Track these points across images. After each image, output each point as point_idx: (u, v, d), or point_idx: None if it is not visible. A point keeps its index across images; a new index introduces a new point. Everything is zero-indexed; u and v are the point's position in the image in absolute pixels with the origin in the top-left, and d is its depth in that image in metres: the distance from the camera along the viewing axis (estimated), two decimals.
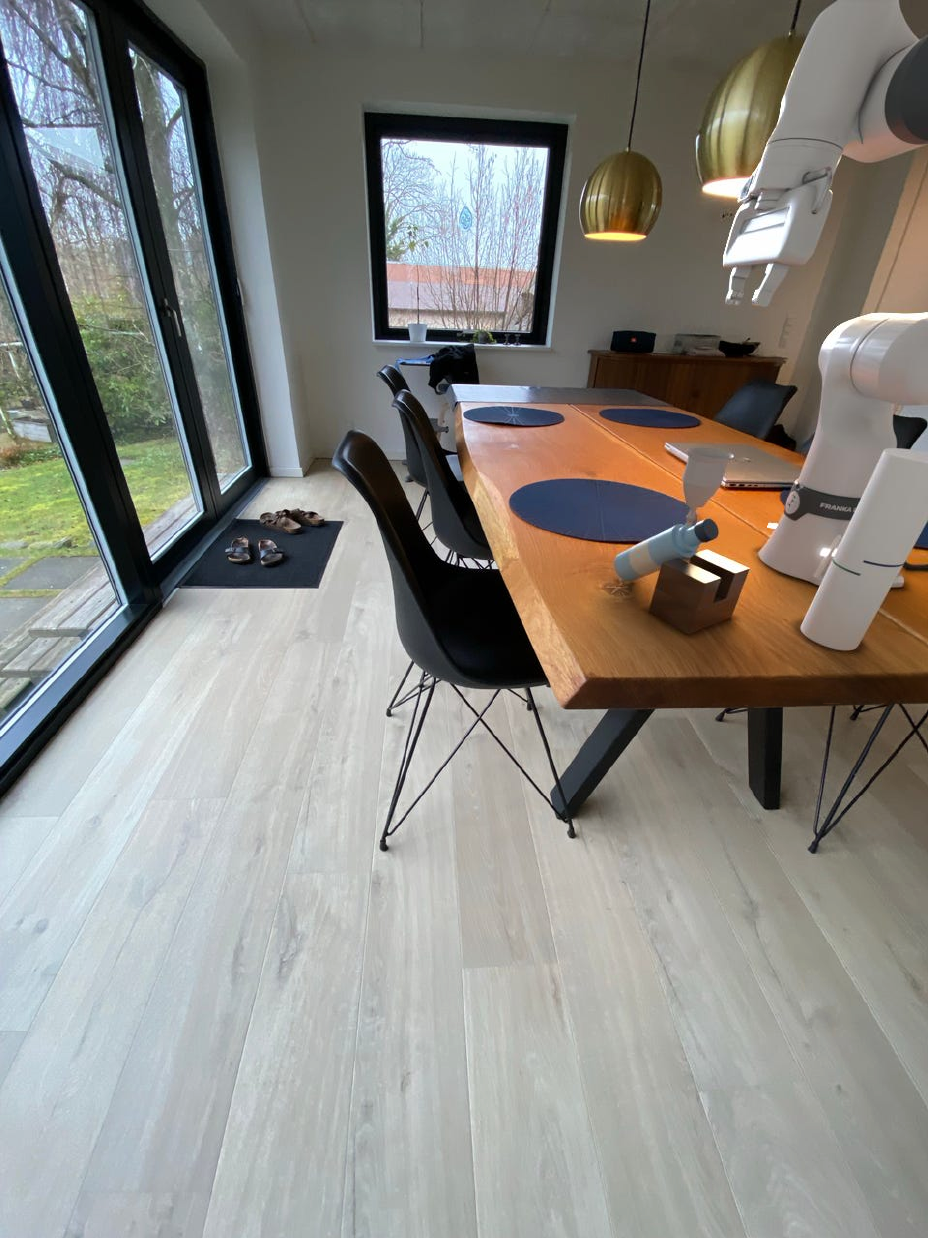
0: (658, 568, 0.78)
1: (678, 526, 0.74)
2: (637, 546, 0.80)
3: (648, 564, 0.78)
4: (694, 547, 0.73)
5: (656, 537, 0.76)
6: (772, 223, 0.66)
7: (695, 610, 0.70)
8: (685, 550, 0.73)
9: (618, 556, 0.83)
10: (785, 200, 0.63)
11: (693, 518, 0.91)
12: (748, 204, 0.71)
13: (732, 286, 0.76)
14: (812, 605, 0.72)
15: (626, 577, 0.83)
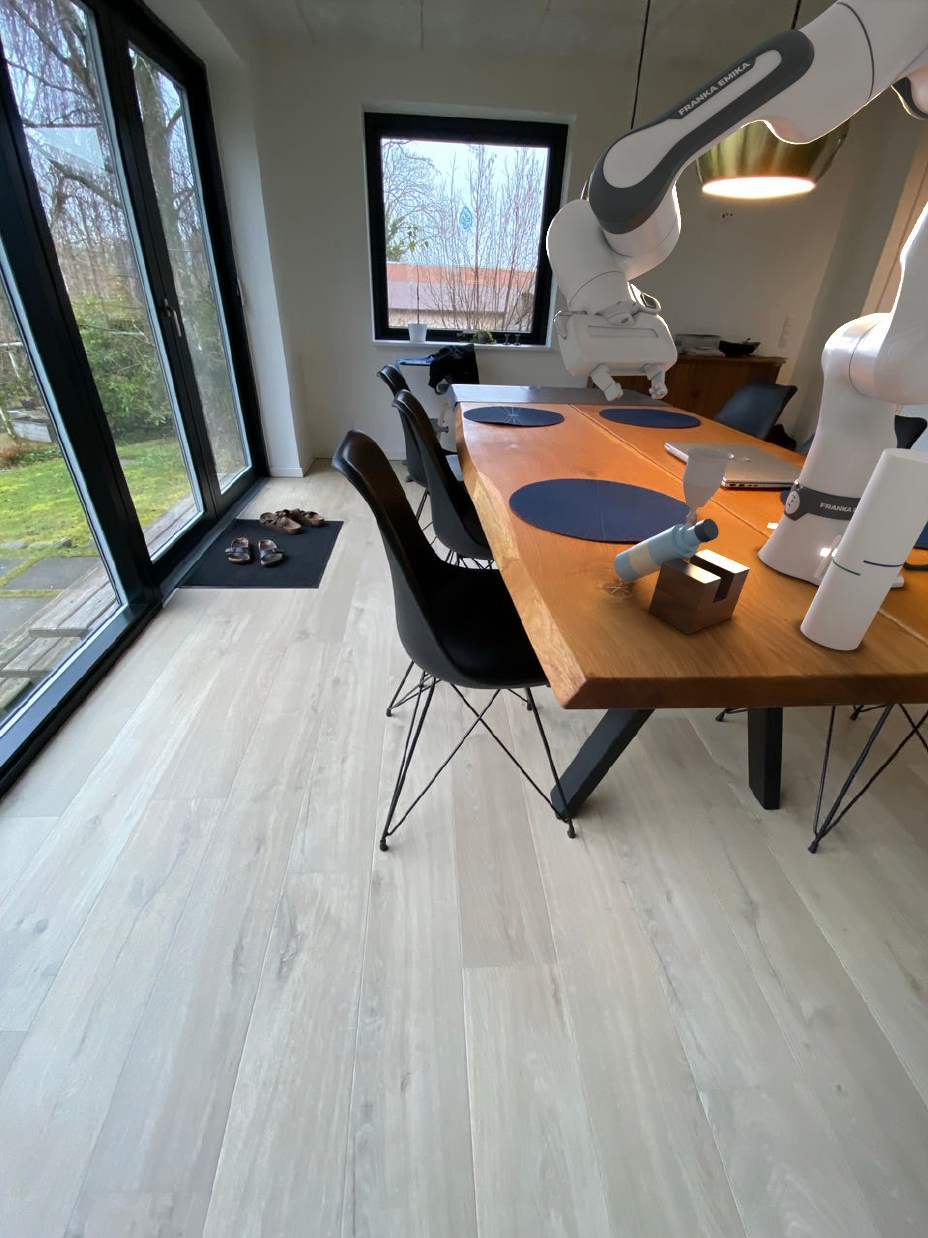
0: (658, 568, 0.78)
1: (678, 526, 0.74)
2: (637, 546, 0.80)
3: (648, 564, 0.78)
4: (694, 547, 0.73)
5: (656, 537, 0.76)
6: None
7: (695, 610, 0.70)
8: (685, 550, 0.73)
9: (618, 556, 0.83)
10: None
11: (693, 518, 0.91)
12: None
13: (652, 386, 0.78)
14: (812, 605, 0.72)
15: (626, 577, 0.83)
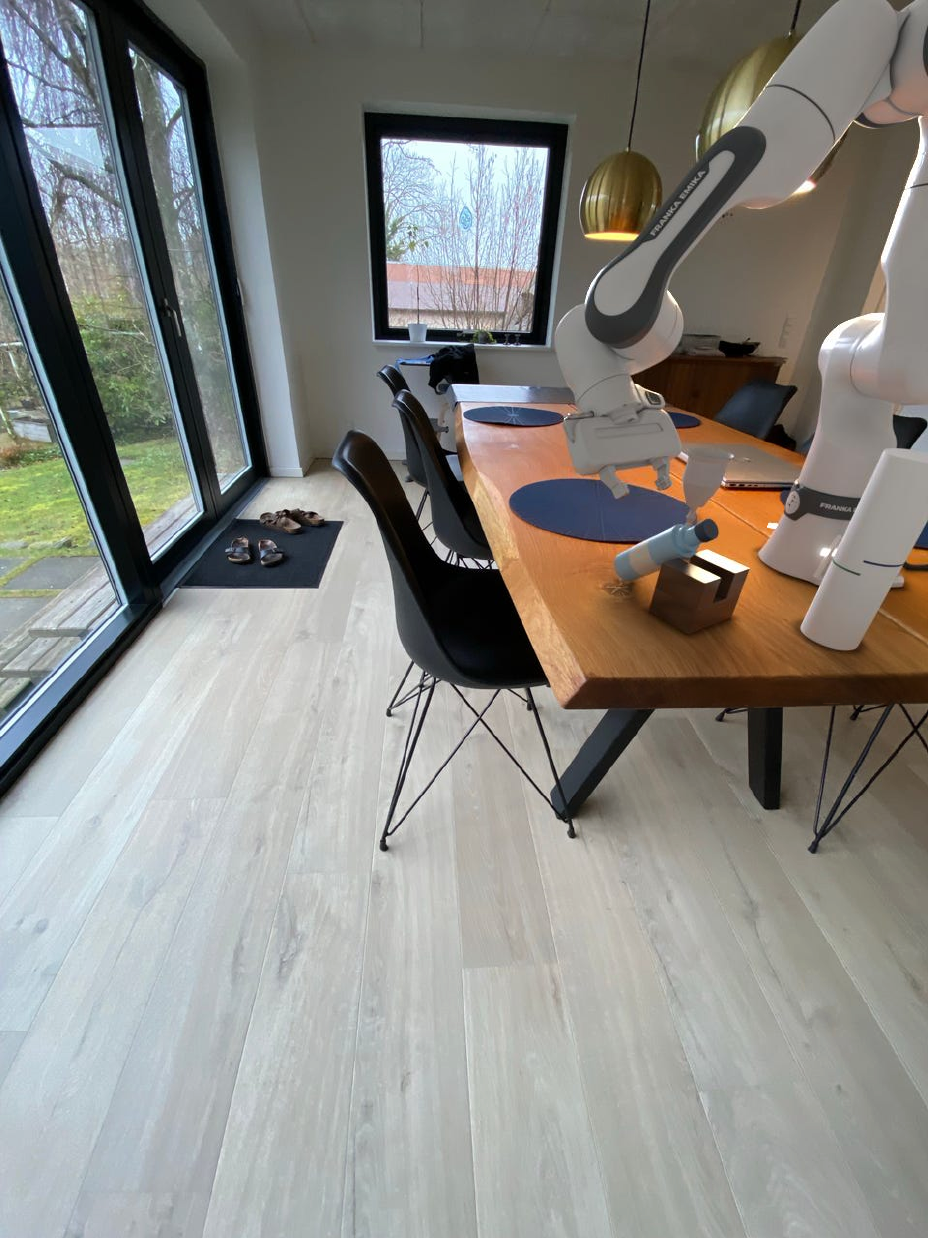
0: (658, 568, 0.78)
1: (678, 526, 0.74)
2: (637, 546, 0.80)
3: (648, 564, 0.78)
4: (694, 547, 0.73)
5: (656, 537, 0.76)
6: None
7: (695, 610, 0.70)
8: (685, 550, 0.73)
9: (618, 556, 0.83)
10: None
11: (693, 518, 0.91)
12: None
13: (658, 477, 0.81)
14: (812, 605, 0.72)
15: (626, 577, 0.83)
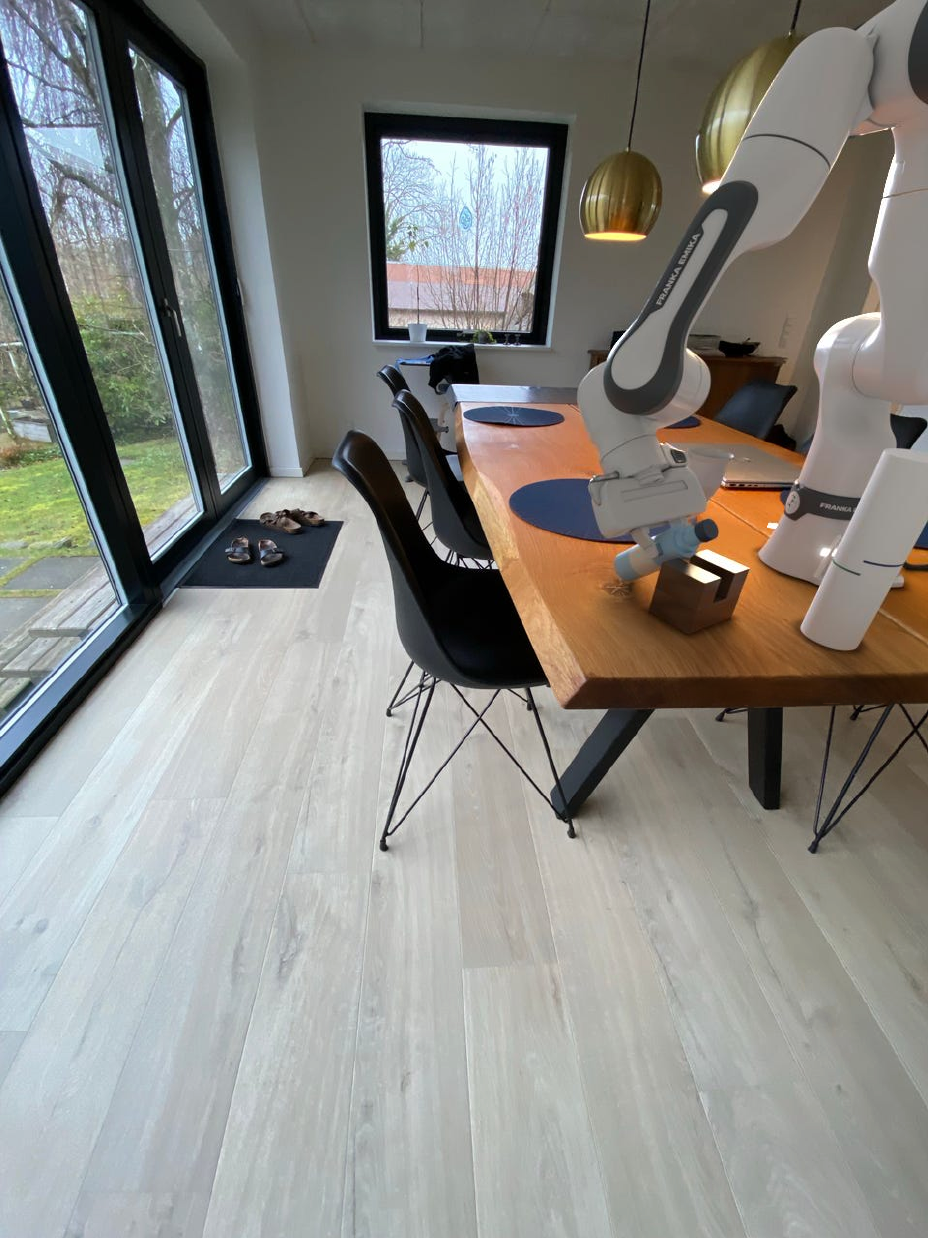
0: (658, 568, 0.78)
1: (678, 526, 0.74)
2: (637, 546, 0.80)
3: (647, 564, 0.78)
4: (694, 547, 0.73)
5: (656, 537, 0.76)
6: None
7: (695, 610, 0.70)
8: (685, 550, 0.73)
9: (618, 556, 0.83)
10: None
11: (693, 518, 0.91)
12: None
13: None
14: (812, 605, 0.72)
15: (626, 577, 0.83)
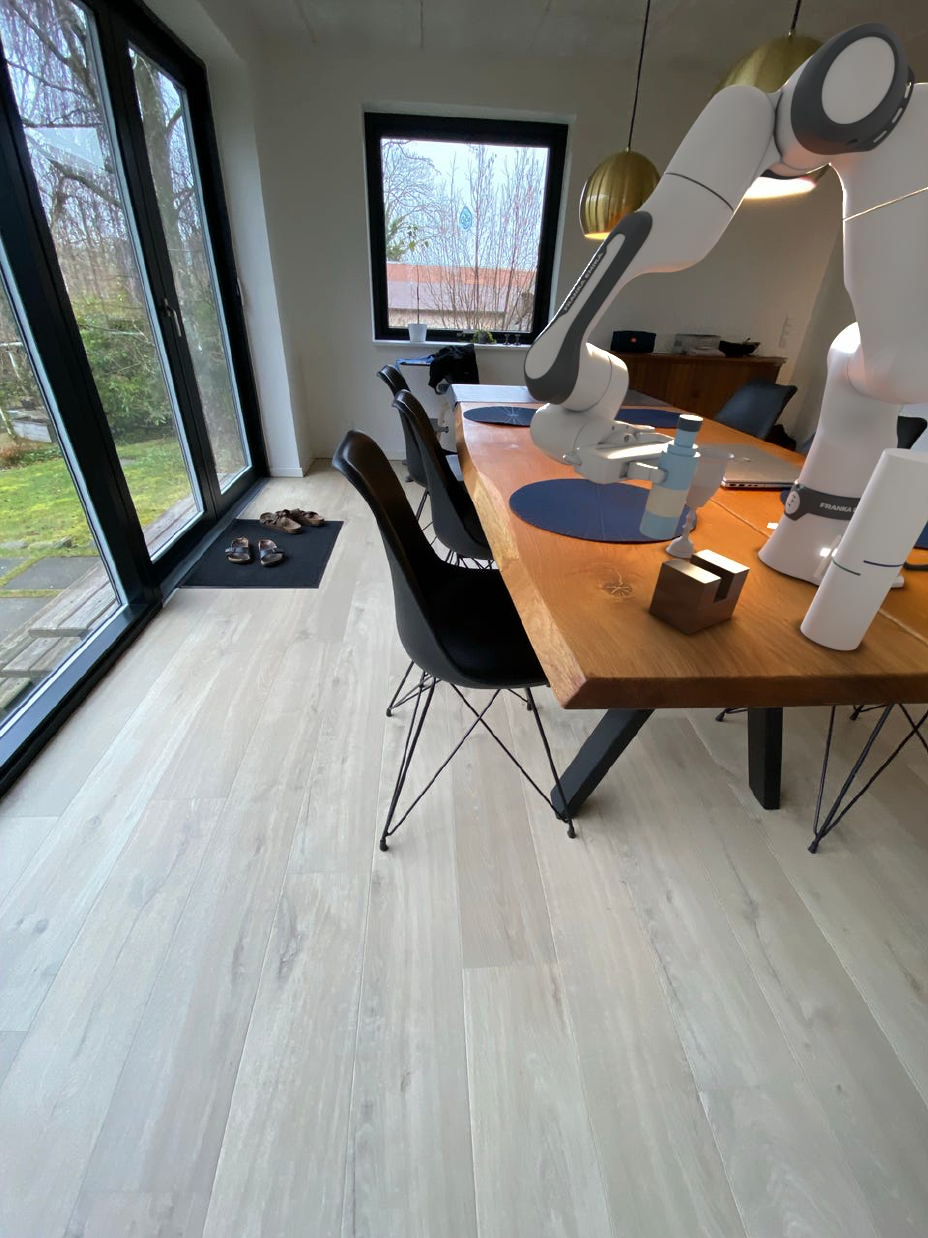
0: (678, 494, 0.72)
1: (667, 447, 0.72)
2: (648, 496, 0.76)
3: (665, 496, 0.72)
4: (692, 447, 0.70)
5: None
6: None
7: (695, 610, 0.70)
8: (685, 452, 0.69)
9: None
10: None
11: (693, 518, 0.91)
12: None
13: None
14: (812, 605, 0.72)
15: (659, 532, 0.75)
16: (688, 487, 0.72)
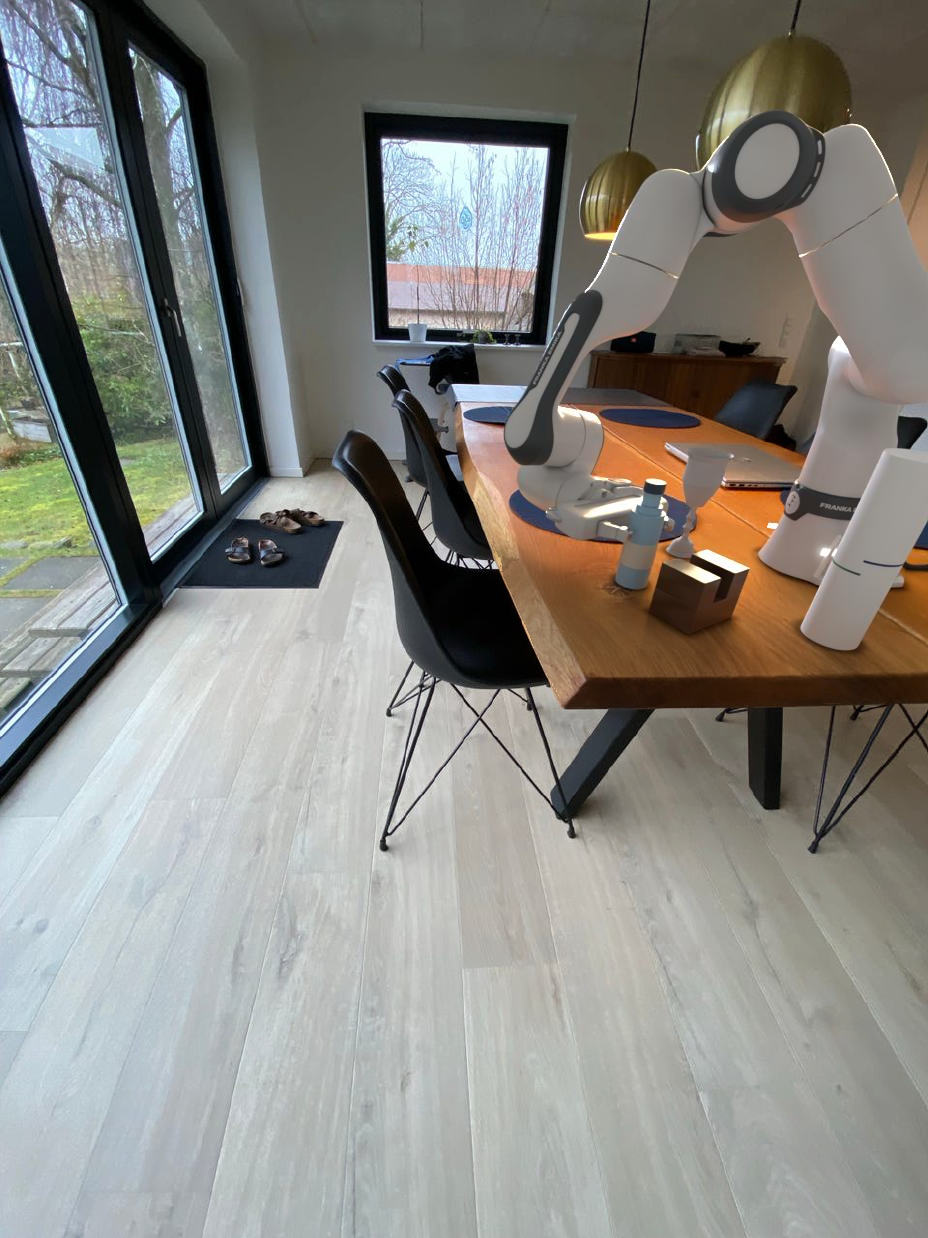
0: (647, 549, 0.79)
1: None
2: None
3: (636, 551, 0.79)
4: (658, 507, 0.76)
5: (627, 527, 0.80)
6: None
7: (695, 610, 0.70)
8: (651, 512, 0.76)
9: (616, 574, 0.85)
10: None
11: (693, 518, 0.91)
12: None
13: None
14: (812, 605, 0.72)
15: (632, 582, 0.82)
16: (657, 542, 0.79)
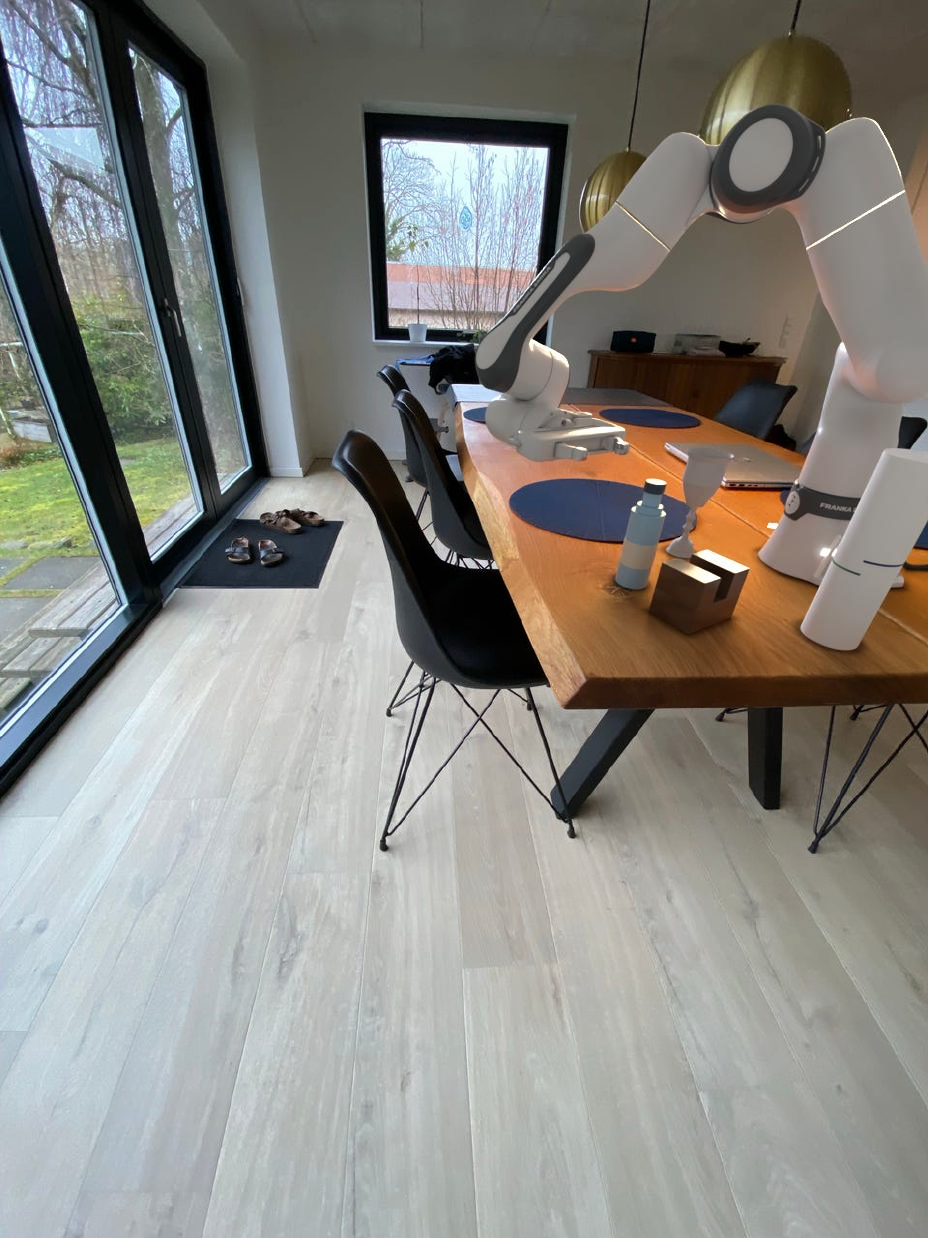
0: (647, 549, 0.79)
1: None
2: None
3: (636, 551, 0.79)
4: (658, 507, 0.76)
5: (627, 527, 0.80)
6: None
7: (695, 610, 0.70)
8: (651, 512, 0.76)
9: (616, 574, 0.85)
10: None
11: (693, 518, 0.91)
12: None
13: None
14: (812, 605, 0.72)
15: (632, 582, 0.82)
16: (657, 542, 0.79)
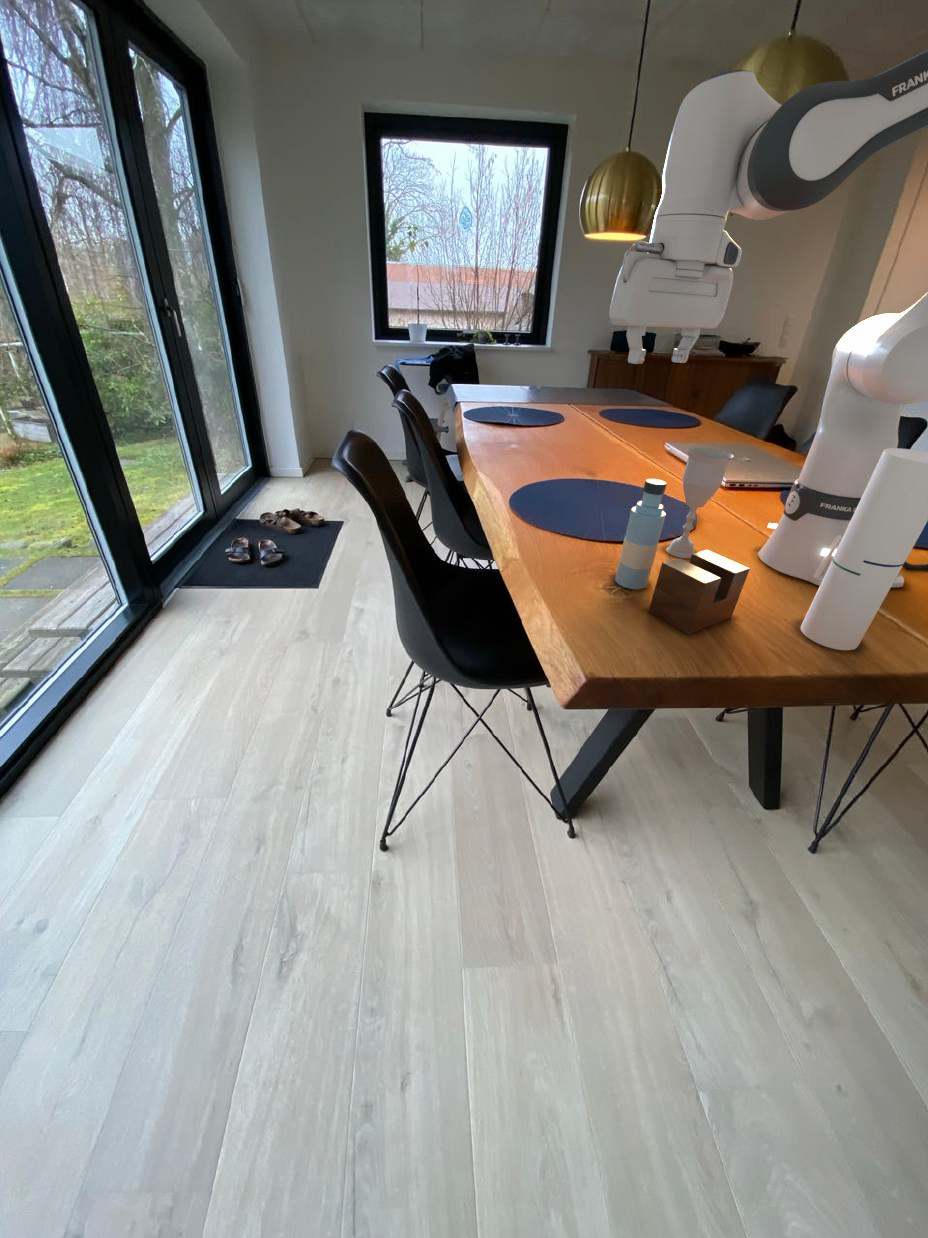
0: (647, 549, 0.79)
1: None
2: None
3: (636, 551, 0.79)
4: (658, 507, 0.76)
5: (627, 527, 0.80)
6: None
7: (695, 610, 0.70)
8: (651, 512, 0.76)
9: (616, 574, 0.85)
10: None
11: (693, 518, 0.91)
12: None
13: (680, 345, 0.78)
14: (812, 605, 0.72)
15: (632, 582, 0.82)
16: (657, 542, 0.79)
